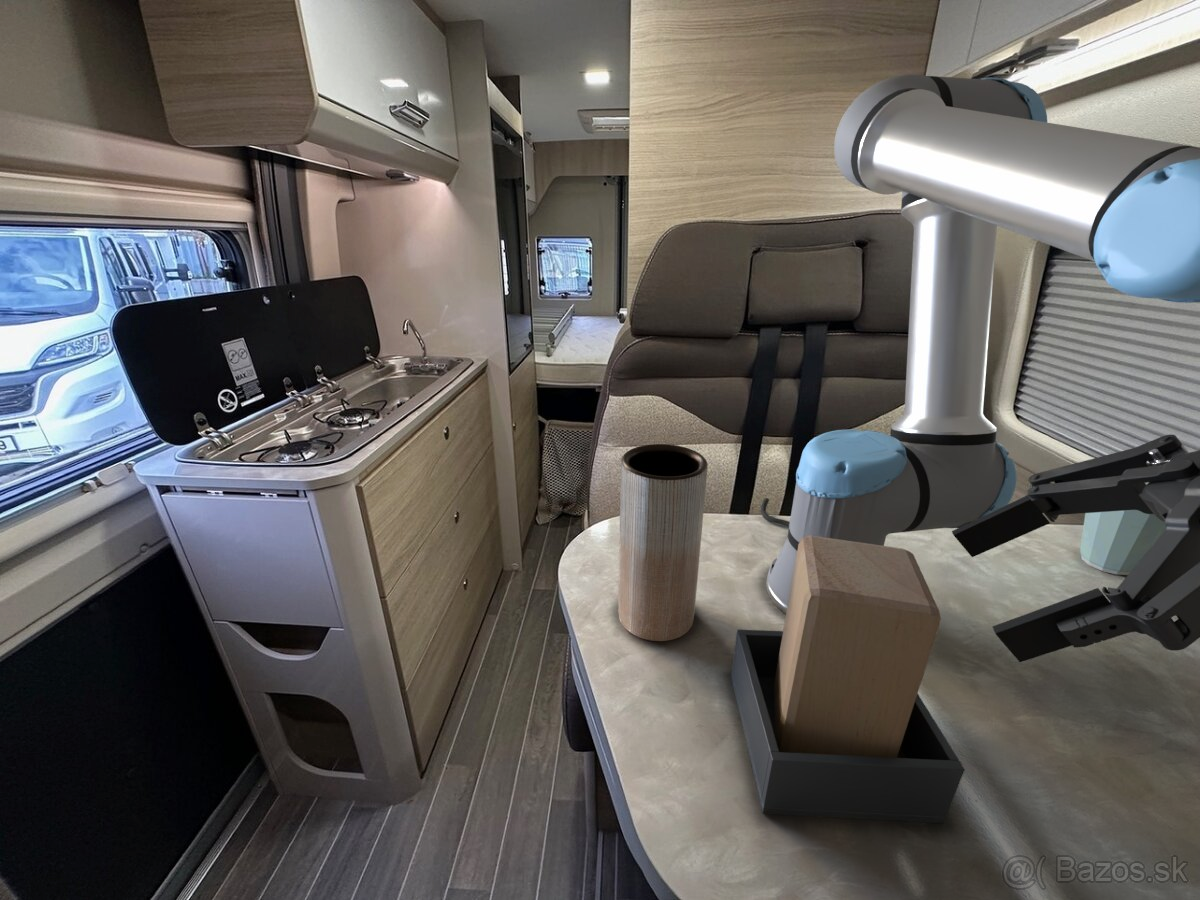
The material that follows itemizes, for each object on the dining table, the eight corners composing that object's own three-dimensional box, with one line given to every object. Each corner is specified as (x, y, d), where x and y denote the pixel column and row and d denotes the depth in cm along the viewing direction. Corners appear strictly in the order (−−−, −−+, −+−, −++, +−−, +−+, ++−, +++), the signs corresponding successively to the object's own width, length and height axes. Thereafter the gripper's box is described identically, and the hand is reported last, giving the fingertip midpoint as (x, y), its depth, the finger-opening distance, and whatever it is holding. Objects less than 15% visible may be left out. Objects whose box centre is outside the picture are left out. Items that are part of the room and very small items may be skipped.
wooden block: (870, 706, 56) (914, 545, 49) (890, 795, 48) (948, 617, 40) (772, 685, 59) (799, 529, 51) (773, 766, 50) (807, 593, 42)
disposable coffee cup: (1167, 591, 76) (1214, 498, 70) (1074, 574, 79) (1112, 484, 73) (1131, 552, 85) (1170, 467, 79) (1049, 538, 88) (1080, 456, 83)
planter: (607, 601, 73) (608, 449, 64) (672, 585, 76) (681, 439, 68) (636, 651, 65) (642, 484, 56) (708, 631, 68) (724, 470, 59)
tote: (730, 675, 61) (737, 629, 58) (869, 681, 60) (881, 634, 58) (762, 813, 47) (772, 760, 44) (944, 823, 46) (965, 769, 43)
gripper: (1660, 616, 21) (1072, 753, 32) (1240, 422, 43) (972, 543, 54) (1551, 476, 21) (994, 662, 32) (1183, 351, 42) (925, 487, 53)
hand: (980, 587), depth 43 cm, fingers open, 13 cm apart
